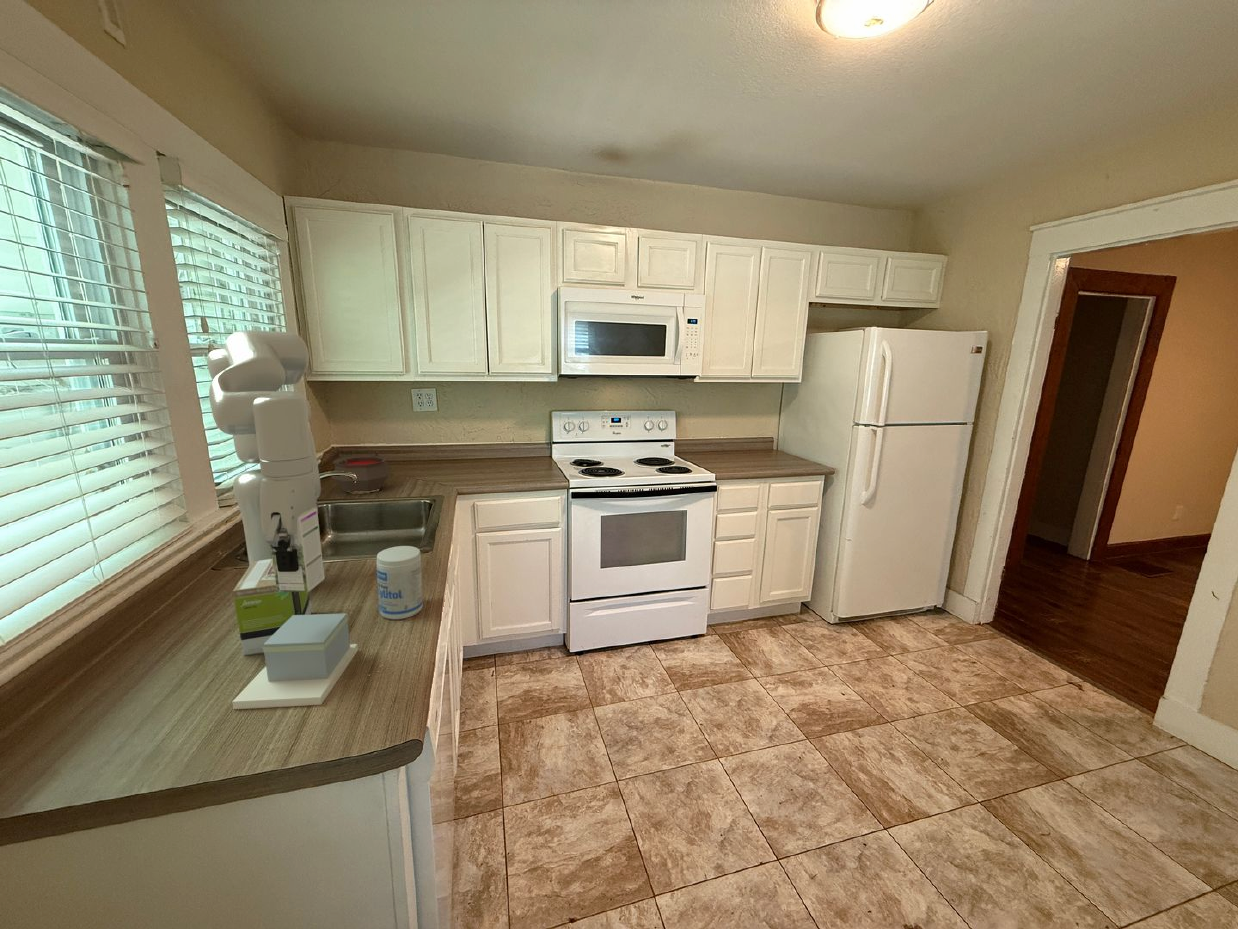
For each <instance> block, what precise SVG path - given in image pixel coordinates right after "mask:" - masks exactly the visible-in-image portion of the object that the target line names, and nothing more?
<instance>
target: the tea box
mask: <svg viewBox="0 0 1238 929" xmlns="http://www.w3.org/2000/svg"><path fill="white" fill-rule="evenodd" d="M310 598H311V597H310V591H309V592H282V591H277V588H276V580H275V573H274V566H273V560H272V559H268V560H260V561H253V562H252V564H251V565H250V566H248V568H247V569H246V570H245V572H244V574H243V575H242V577H241V578H240V579H239V581H238V583H236V585H235V587H234V589H233V590H232V599H233V604H234V610H235V616H236V622H237V626H238V627H237V628H238V633H239V638H240V644H241V650H242V654H243V656H251V655H256V654H264V652H263V648H262V647H263V644H264V643H265V642H266V641H267V640H268V639H269V638H270V637H271V636H272V635H273V634H274V633H275V632H276V631H277V630H278V629H279V628H280V627H281V626H282V625H283V624H284V623H285V622H286V621H287V620H289V619H290V618H291V617H292V616H293V615H312V604H311V599H310Z"/></svg>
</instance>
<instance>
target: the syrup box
mask: <svg viewBox="0 0 1238 929" xmlns="http://www.w3.org/2000/svg"><path fill="white" fill-rule="evenodd" d="M318 514H319V513H318ZM318 514H317V508H310V509H309V510H307V511H305V512H304V513H302V514H301V515H300V516H299V517H297V533H295V534H294V549H297V557H298V566H299V570H298V571H296V572H279V571H278V569H277V561H276V553H275V552H274V551H273V548H272V547H271V552H272V560H273V566H274V573H275V580H276V588H277V591H282V592H309V593H310V591H312V590H313V589H315V588H316V587H317V586H318V585H319V584H321V583H322V582H323V581H324V580H325V578H326V577H325V570H324V562H323V554H322V553H323V552H322V545H321V544H322V543H321V534H320V524H319V516H318ZM280 533H287V529H281V530H280ZM281 540H284V541H285V542H287V541H288V537H281Z"/></svg>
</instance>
